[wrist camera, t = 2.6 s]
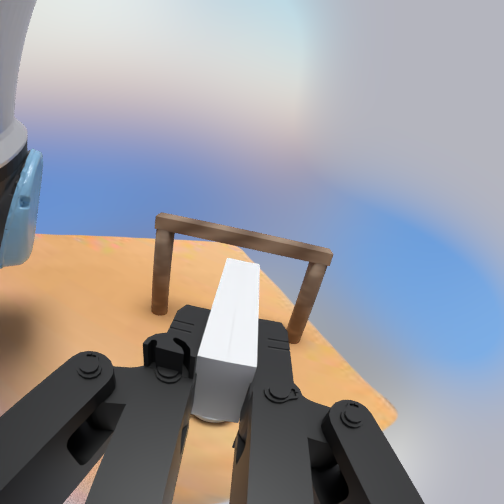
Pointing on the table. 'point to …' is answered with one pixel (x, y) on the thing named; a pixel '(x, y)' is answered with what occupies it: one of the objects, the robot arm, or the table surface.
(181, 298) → the table surface
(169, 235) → the walnut gate
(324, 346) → the table surface
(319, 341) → the table surface
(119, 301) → the table surface
